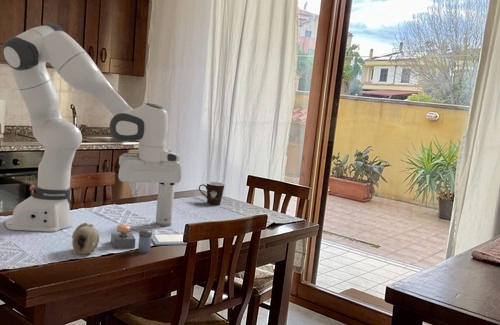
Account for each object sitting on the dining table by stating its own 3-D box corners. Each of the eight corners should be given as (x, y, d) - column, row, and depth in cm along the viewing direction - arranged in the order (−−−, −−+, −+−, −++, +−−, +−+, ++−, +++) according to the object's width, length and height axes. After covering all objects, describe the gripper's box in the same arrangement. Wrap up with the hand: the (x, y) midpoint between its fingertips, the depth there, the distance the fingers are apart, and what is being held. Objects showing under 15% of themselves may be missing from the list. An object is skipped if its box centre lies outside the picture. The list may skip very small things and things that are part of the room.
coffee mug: (225, 204, 255) (228, 184, 253) (215, 206, 247) (217, 186, 246) (206, 199, 261) (208, 179, 259) (196, 201, 253) (198, 181, 252)
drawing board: (155, 245, 182) (155, 243, 182) (148, 235, 192) (149, 233, 192) (193, 244, 188) (194, 242, 187) (185, 235, 197) (185, 233, 197)
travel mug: (168, 227, 205) (173, 177, 202) (152, 224, 206) (157, 175, 203) (174, 223, 211) (178, 175, 208) (158, 221, 212) (163, 173, 209)
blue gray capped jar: (139, 253, 172) (140, 232, 171) (136, 249, 176) (138, 229, 175) (151, 252, 174) (153, 232, 173) (149, 248, 178) (150, 228, 177)
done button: (117, 241, 176) (118, 228, 175) (115, 237, 180) (116, 224, 179) (130, 241, 178) (131, 228, 177) (128, 237, 182) (129, 224, 181)
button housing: (113, 248, 174) (114, 239, 174) (110, 241, 181) (111, 233, 180) (134, 247, 177) (135, 239, 177) (131, 241, 184) (131, 232, 183)
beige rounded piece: (72, 256, 170) (68, 225, 170) (99, 251, 173) (95, 221, 174) (74, 257, 161) (70, 225, 162) (102, 251, 164) (98, 220, 165)
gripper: (120, 154, 163) (118, 197, 165) (184, 156, 171) (180, 198, 173) (118, 151, 169) (115, 192, 171) (179, 153, 177) (176, 193, 179)
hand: (148, 195), depth 172 cm, fingers open, 8 cm apart
